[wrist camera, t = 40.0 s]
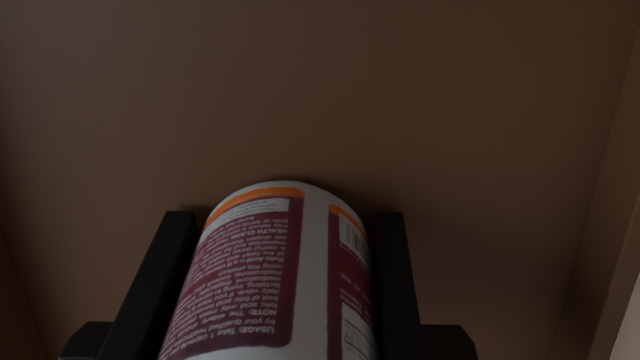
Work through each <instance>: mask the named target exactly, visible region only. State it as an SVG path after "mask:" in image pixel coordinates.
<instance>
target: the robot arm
mask: <svg viewBox="0 0 640 360" xmlns="http://www.w3.org/2000/svg"><path fill="white" fill-rule="evenodd" d="M198 240H199V237H198V231H197V224H196V218H195V211H166V213H165V215H164V217H163V219H162V221H161V223H160V225H159V227H158V229H157V231H156V234H155V236H154V238H153V240H152V242H151V244H150V246H149V248H148V250H147V253H146V255H145V257H144V259H143V261H142V263H141V265H140V267H139V269H138V271H137V274H136V276H135V278H134V280H133V282H132V284H131V286H130V288H129V290H128V292H127V295H126V297H125V299H124V301H123V303H122V305H121V307H120V309H119V311H118V313H117V316H116V318H115V320H114V322H109V321H87V322H86V323H85V324H84V325H83V326H82V327H81V328H80V329H78V330H77V331H76V332H75V333H74V334H73V335H72V336H71V337H70V338H69V339H68V341H67V343H66V345H65V347H64V348H63V350H62V352H61V354H60V356H59V357H58V358H59V360H156V357H157V354H158V352H159V349H160V346H161V344H162V341H163V338H164V335H165V332H166V329H167V325H168V322H169V320H170V318H171V315H172V312H173V310H174V307H175V304H176V301H177V298H178V295H179V293H180V290H181V287H182V284H183V281H184V278H185V276H186V273H187V270H188V267H189V264H190V261H191V258H192V255H193V252H194V249H195V246H196V244H197V242H198ZM372 264H373V276H374V277H373V280H374V292H375V305H376V321H377V335H378V344H379V353H380V360H479V359H478V355H477V351H476V347H475V344H474V342H473V340H472V339H471V338H470V337H469V335H468V334H467V333H466V331H465V330H464V329H463V328H462V326H461V325H439V324H421V322H420V316H419V309H418V303H417V297H416V291H415V284H414V278H413V272H412V266H411V259H410V253H409V247H408V241H407V234H406V228H405V222H404V215H403V212H374V226H373V252H372Z"/></svg>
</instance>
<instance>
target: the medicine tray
mask: <svg viewBox="0 0 640 360" xmlns="http://www.w3.org/2000/svg"><path fill="white" fill-rule="evenodd" d="M279 180H290V181H300V182H303V183H306V184H310V185H313V186H316V187H318V188H321V189H323V190H326V191H328V192H330V193H331V194H333V195H335V196H336V197H337V198H339V199H341V200H343V201H344V202H345V203H346V204H347V205H348V206H349V207H350V208H351V209H352V210H353V211H354V212H355V213H356V214H357V215H358V217H359V218H360V220H361V221H362V223H363V225H364V227H365V229H366V231H367V234H368V237H369V241H370V245H371V252H373V226H374V212H403V215H404V222H405V228H406V234H407V241H408V247H409V253H410V259H411V266H412V272H413V278H414V284H415V291H416V297H417V303H418V309H419V316H420V322H421V324H439V325H461V326H462V328H463V329H464V330H465V331H466V333H467V334H468V335H469V337H470V338H471V339H472V340H473V342H474V344H475V347H476V351H477V355H478V359H479V360H609V359H610V356H611V353H612V350H613V347H614V344H615V341H616V338H617V335H618V332H619V329H620V327H621V324H622V321H623V318H624V315H625V312H626V309H627V306H628V303H629V300H630V297H631V295H632V292H633V289H634V286H635V283H636V280H637V277H638V274H639V271H640V0H0V360H59V358H58V357H59V356H60V354H61V352H62V350H63V348H64V347H65V345H66V343H67V341H68V339H69V338H70V337H71V336H72V335H73V334H74V333H75V332H76V331H77V330H78V329H80V328H81V327H82V326H83V325H84V324H85V323H86V322H87V321H109V322H114V320H115V318H116V316H117V313H118V311H119V309H120V307H121V305H122V303H123V301H124V299H125V297H126V295H127V292H128V290H129V288H130V286H131V284H132V282H133V280H134V278H135V276H136V274H137V271H138V269H139V267H140V265H141V263H142V261H143V259H144V257H145V255H146V253H147V250H148V248H149V246H150V244H151V242H152V240H153V238H154V236H155V234H156V231H157V229H158V227H159V225H160V223H161V221H162V219H163V217H164V215H165V213H166V211H195V218H196V224H197V231H198V237H200V233H201V231H202V228H203V226H204V223H205V222H206V220H207V218H208V217H209V215H210V214H211V212H212V211H213V210H214V209H215V208H216V206H217V205H218V204H219V203H221V202H222V201H223V200H224V199H225V198H227V197H228V196H229V195H231V194H232V193H234V192H236V191H238V190H240V189H243V188H245V187H248V186H251V185H254V184H257V183H261V182H267V181H279Z"/></svg>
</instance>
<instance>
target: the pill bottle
mask: <svg viewBox="0 0 640 360" xmlns="http://www.w3.org/2000/svg"><path fill="white" fill-rule="evenodd" d="M373 277H374V276H373V264H372V252H371V245H370V241H369V237H368V234H367V231H366V229H365V227H364V225H363V223H362V221H361V220H360V218H359V217H358V215H357V214H356V213H355V212H354V211H353V210H352V209H351V208H350V207H349V206H348V205H347V204H346V203H345V202H344V201H343V200H341V199H339V198H337V197H336V196H335V195H333V194H331V193H330V192H328V191H326V190H323V189H321V188H318V187H316V186H313V185H310V184H306V183H303V182H300V181H290V180H279V181H267V182H261V183H257V184H254V185H251V186H248V187H245V188H243V189H240V190H238V191H236V192H234V193H232V194H231V195H229V196H228V197H227V198H225V199H224V200H223V201H222V202H221V203H219V204H218V205H217V206H216V208H215V209H214V210H213V211H212V212H211V214H210V215H209V217H208V218H207V220H206V222H205V223H204V226H203V228H202V231H201V233H200V237H199V240H198V242H197V244H196V246H195V249H194V252H193V255H192V258H191V261H190V264H189V267H188V270H187V273H186V276H185V278H184V281H183V284H182V287H181V290H180V293H179V295H178V298H177V301H176V304H175V307H174V310H173V312H172V315H171V318H170V320H169V322H168V325H167V329H166V332H165V335H164V338H163V341H162V344H161V346H160V349H159V352H158V354H157V357H156V360H380V353H379V344H378V335H377V321H376V305H375V292H374V280H373Z"/></svg>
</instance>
